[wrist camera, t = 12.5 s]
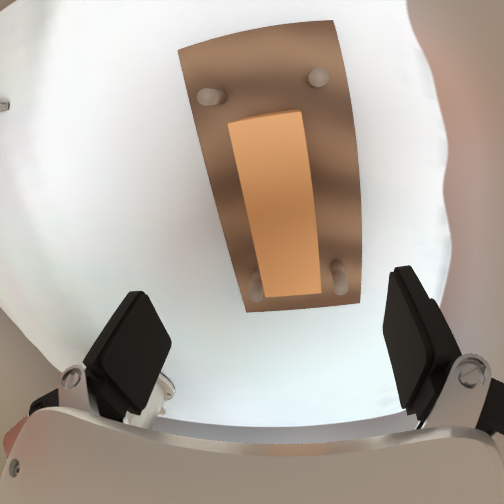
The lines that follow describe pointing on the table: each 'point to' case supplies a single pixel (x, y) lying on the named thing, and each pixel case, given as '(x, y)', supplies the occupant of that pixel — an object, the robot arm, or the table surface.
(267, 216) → the jaw block
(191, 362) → the table surface
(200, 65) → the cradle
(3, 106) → the caliper
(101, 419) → the robot arm
